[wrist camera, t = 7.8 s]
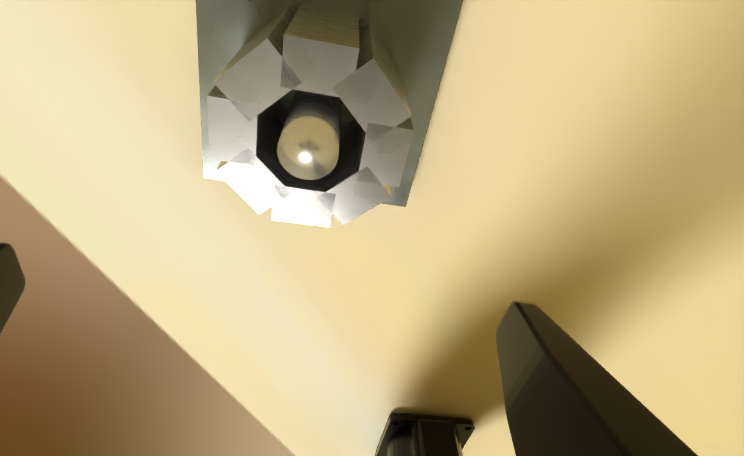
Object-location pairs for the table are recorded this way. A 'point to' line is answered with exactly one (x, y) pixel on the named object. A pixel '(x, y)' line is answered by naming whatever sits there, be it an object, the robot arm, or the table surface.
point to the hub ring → (322, 76)
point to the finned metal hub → (323, 112)
